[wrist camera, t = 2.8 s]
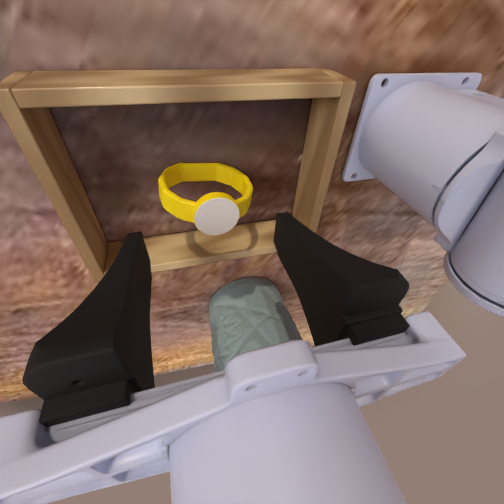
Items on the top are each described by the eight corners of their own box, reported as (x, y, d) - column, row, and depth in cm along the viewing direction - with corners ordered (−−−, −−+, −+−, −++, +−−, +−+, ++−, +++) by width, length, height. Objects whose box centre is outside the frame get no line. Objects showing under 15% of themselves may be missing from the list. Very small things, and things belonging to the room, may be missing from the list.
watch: (159, 187, 20) (162, 239, 16) (156, 150, 18) (159, 198, 14) (237, 187, 22) (258, 234, 18) (242, 153, 20) (267, 197, 16)
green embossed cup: (293, 299, 36) (337, 394, 27) (228, 333, 37) (251, 433, 29) (259, 258, 28) (305, 370, 20) (181, 303, 30) (194, 424, 22)
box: (328, 68, 18) (357, 81, 15) (297, 222, 26) (312, 246, 24) (14, 70, 14) (-14, 89, 11) (100, 250, 22) (94, 282, 20)
